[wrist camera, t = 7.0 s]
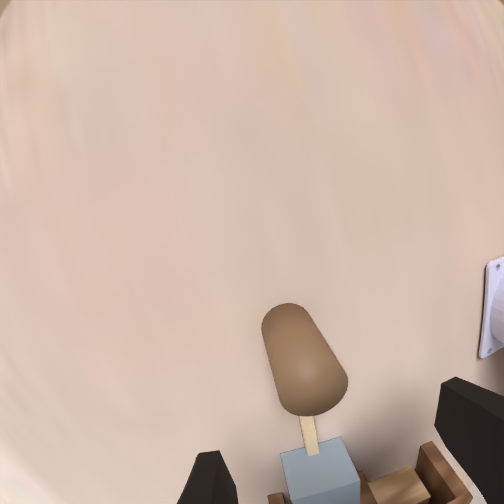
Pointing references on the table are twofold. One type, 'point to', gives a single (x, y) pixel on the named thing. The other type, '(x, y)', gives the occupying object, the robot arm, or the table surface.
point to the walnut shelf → (431, 475)
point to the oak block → (400, 488)
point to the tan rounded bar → (309, 406)
